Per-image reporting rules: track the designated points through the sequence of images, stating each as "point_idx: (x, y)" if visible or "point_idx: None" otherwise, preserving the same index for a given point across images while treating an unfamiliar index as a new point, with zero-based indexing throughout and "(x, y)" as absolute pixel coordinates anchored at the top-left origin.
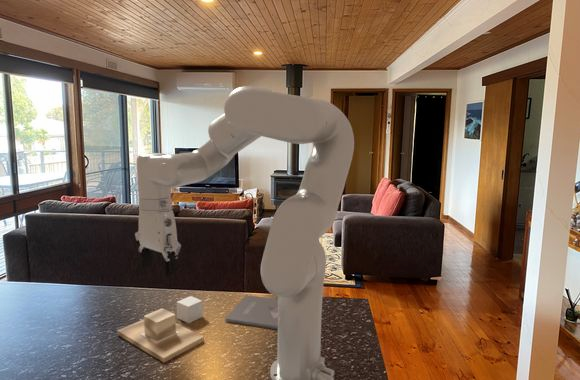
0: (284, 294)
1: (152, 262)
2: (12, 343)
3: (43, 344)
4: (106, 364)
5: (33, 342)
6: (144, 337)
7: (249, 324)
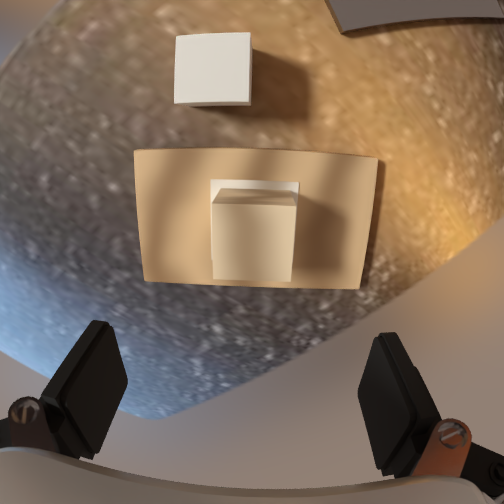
0: None
1: (104, 334)
2: None
3: None
4: (252, 350)
5: None
6: None
7: (411, 21)
